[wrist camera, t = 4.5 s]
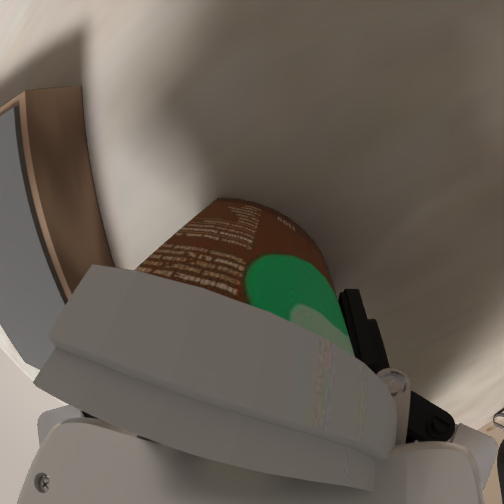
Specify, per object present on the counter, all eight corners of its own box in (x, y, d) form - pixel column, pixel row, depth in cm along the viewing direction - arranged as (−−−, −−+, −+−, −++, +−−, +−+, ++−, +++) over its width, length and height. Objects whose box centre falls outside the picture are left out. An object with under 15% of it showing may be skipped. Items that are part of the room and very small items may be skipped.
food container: (334, 370, 16) (339, 522, 7) (237, 367, 17) (204, 516, 8) (367, 165, 10) (556, 367, 1) (214, 163, 11) (10, 353, 2)
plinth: (151, 363, 18) (131, 407, 14) (46, 336, 19) (25, 364, 16) (81, 86, 9) (19, 91, 6) (-20, 143, 11) (-59, 159, 7)
